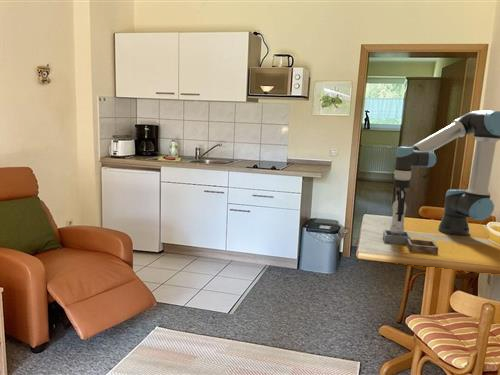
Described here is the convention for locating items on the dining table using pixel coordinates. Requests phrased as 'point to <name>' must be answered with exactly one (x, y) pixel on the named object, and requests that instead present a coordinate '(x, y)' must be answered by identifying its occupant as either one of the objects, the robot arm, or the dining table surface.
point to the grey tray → (395, 237)
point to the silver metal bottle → (393, 229)
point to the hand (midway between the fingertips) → (397, 225)
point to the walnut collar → (422, 246)
